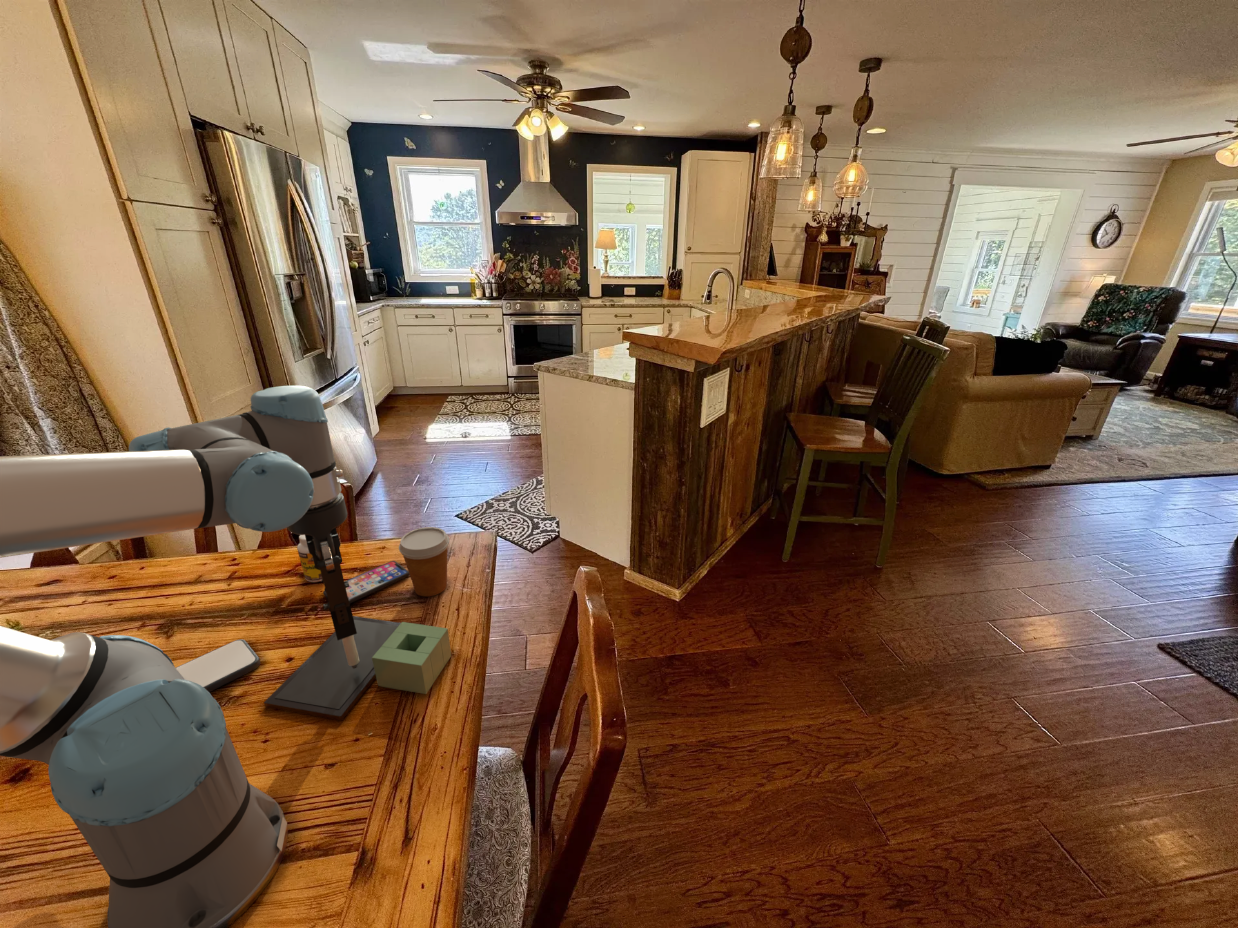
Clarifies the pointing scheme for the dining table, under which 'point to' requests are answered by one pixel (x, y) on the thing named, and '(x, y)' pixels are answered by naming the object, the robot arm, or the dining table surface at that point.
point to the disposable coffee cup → (426, 559)
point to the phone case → (220, 665)
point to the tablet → (333, 674)
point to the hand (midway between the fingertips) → (345, 631)
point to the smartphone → (374, 580)
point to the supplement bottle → (308, 562)
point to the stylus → (351, 651)
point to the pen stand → (412, 657)
